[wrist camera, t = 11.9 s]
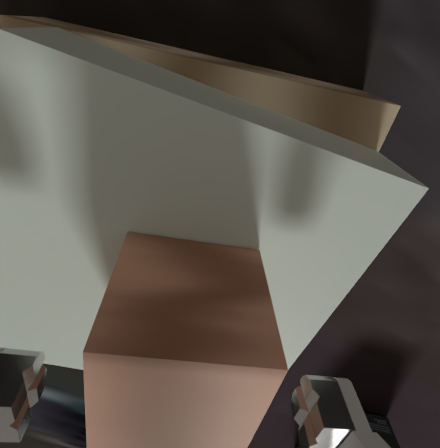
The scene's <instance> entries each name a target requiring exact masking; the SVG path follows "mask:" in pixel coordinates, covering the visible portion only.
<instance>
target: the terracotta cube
mask: <svg viewBox="0 0 440 448" xmlns="http://www.w3.org/2000/svg"><path fill="white" fill-rule="evenodd" d="M83 370H84V393H85V416H86V439H87V448H247V447H248V445H249V443H250V442H251V440H252V438H253V436H254V434H255V432H256V430H257V428H258V426H259V425H260V423H261V421H262V419H263V417H264V415H265V413H266V411H267V409H268V407H269V406H270V404H271V402H272V400H273V398H274V396H275V394H276V392H277V390H278V389H279V387H280V385H281V383H282V381H283V379H284V377H285V375H286V373H287V371H288V367H287V363H286V359H285V355H284V350H283V346H282V342H281V338H280V334H279V329H278V325H277V321H276V317H275V313H274V308H273V304H272V300H271V296H270V292H269V287H268V283H267V279H266V275H265V271H264V266H263V262H262V258H261V254H260V250H255V249H248V248H240V247H233V246H226V245H219V244H212V243H205V242H198V241H191V240H184V239H177V238H170V237H163V236H156V235H149V234H142V233H135V232H127V235H126V237H125V240H124V243H123V245H122V248H121V251H120V253H119V256H118V259H117V262H116V264H115V267H114V270H113V272H112V275H111V278H110V280H109V283H108V286H107V288H106V291H105V294H104V296H103V299H102V302H101V304H100V307H99V310H98V312H97V315H96V318H95V321H94V323H93V326H92V329H91V331H90V334H89V337H88V339H87V342H86V345H85V347H84V350H83Z"/></svg>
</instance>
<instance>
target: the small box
mask: <svg viewBox="0 0 440 448" xmlns="http://www.w3.org/2000/svg"><path fill="white" fill-rule="evenodd" d="M364 413H365V416H366V418H367V420H368V423H369V425H370V428H371V430H372V432H377V433H378V434H379V436H380V437H381V438H382V439H383V440H384V441H385V442H386V443H387V444H388V445H389V446H390V447H391V448H400V446H399V444H398V442H397V439H396V437H395V434H394V432H393V430H392V427H391V425H390V422H389V419H388V418H387V417H383V416H379V415H375V414H370V413H366V412H364ZM296 448H300V445H299V446H297V447H296Z"/></svg>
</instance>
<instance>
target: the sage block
mask: <svg viewBox="0 0 440 448" xmlns="http://www.w3.org/2000/svg"><path fill="white" fill-rule="evenodd" d="M428 189H429V188H428V187H426V186H425V185H423V184H422V183H421V182H419V181H418V180H417V179H415V178H414V177H412V176H411V175H410V174H408V173H407V172H405V171H404V170H403V169H401V168H400V167H399V166H397V165H396V164H394V163H393V162H392V161H390V160H389V159H387V158H386V157H385V156H383V155H382V154H381V153H379V152H378V151H376V150H374V149H371V148H368V147H366V146H363V145H361V144H358V143H356V142H353V141H350V140H348V139H345V138H343V137H340V136H337V135H335V134H332V133H330V132H327V131H325V130H322V129H319V128H317V127H314V126H312V125H309V124H306V123H304V122H301V121H299V120H296V119H293V118H291V117H288V116H286V115H283V114H281V113H278V112H275V111H273V110H270V109H268V108H265V107H262V106H260V105H257V104H255V103H252V102H250V101H247V100H244V99H242V98H239V97H237V96H234V95H231V94H229V93H226V92H224V91H221V90H218V89H216V88H213V87H211V86H208V85H206V84H203V83H200V82H198V81H195V80H193V79H190V78H187V77H185V76H182V75H180V74H177V73H174V72H172V71H169V70H167V69H164V68H162V67H159V66H156V65H154V64H151V63H149V62H146V61H143V60H141V59H138V58H136V57H133V56H131V55H128V54H125V53H123V52H120V51H118V50H115V49H112V48H110V47H107V46H105V45H102V44H99V43H97V42H94V41H92V40H89V39H87V38H84V37H81V36H79V35H76V34H74V33H71V32H68V31H66V30H63V29H61V28H58V27H39V28H0V347H3V348H10V349H21V350H31V351H42V352H44V356H45V360H44V362H43V363H45V364H51V365H57V366H64V367H70V368H76V369H82V370H83V350H84V347H85V345H86V342H87V339H88V337H89V334H90V331H91V329H92V326H93V323H94V321H95V318H96V315H97V312H98V310H99V307H100V304H101V302H102V299H103V296H104V294H105V291H106V288H107V286H108V283H109V280H110V278H111V275H112V272H113V270H114V267H115V264H116V262H117V259H118V256H119V253H120V251H121V248H122V245H123V243H124V240H125V237H126V235H127V232H135V233H142V234H149V235H156V236H163V237H170V238H177V239H184V240H191V241H198V242H205V243H212V244H219V245H226V246H233V247H240V248H248V249H255V250H260V254H261V258H262V262H263V266H264V271H265V275H266V279H267V283H268V287H269V292H270V296H271V300H272V304H273V308H274V313H275V317H276V321H277V325H278V329H279V334H280V338H281V342H282V346H283V350H284V355H285V359H286V363H287V367H288V369H289V368H290V367H291V365H292V364H293V363H294V362H295V360H296V359H297V358H298V356H299V355H300V354H301V353H302V351H303V350H304V349H305V347H306V346H307V345H308V344H309V342H310V341H311V340H312V338H313V337H314V336H315V335H316V333H317V332H318V331H319V329H320V328H321V327H322V326H323V324H324V323H325V322H326V320H327V319H328V318H329V317H330V315H331V314H332V313H333V311H334V310H335V309H336V308H337V306H338V305H339V304H340V302H341V301H342V300H343V299H344V297H345V296H346V295H347V293H348V292H349V291H350V290H351V288H352V287H353V286H354V284H355V283H356V282H357V280H358V279H359V278H360V277H361V275H362V274H363V273H364V271H365V270H366V269H367V268H368V266H369V265H370V264H371V262H372V261H373V260H374V259H375V257H376V256H377V255H378V253H379V252H380V251H381V250H382V248H383V247H384V246H385V244H386V243H387V242H388V241H389V239H390V238H391V237H392V235H393V234H394V233H395V232H396V230H397V229H398V228H399V226H400V225H401V224H402V223H403V221H404V220H405V219H406V217H407V216H408V215H409V214H410V212H411V211H412V210H413V208H414V207H415V206H416V205H417V203H418V202H419V201H420V199H421V198H422V197H423V196H424V194H425V193H426V192H427V190H428Z"/></svg>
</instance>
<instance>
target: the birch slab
mask: <svg viewBox="0 0 440 448" xmlns="http://www.w3.org/2000/svg"><path fill="white" fill-rule="evenodd" d="M39 27H58V28H61V29H63V30H66V31H68V32H71V33H74V34H76V35H79V36H81V37H84V38H87V39H89V40H92V41H94V42H97V43H99V44H102V45H105V46H107V47H110V48H112V49H115V50H118V51H120V52H123V53H125V54H128V55H131V56H133V57H136V58H138V59H141V60H143V61H146V62H149V63H151V64H154V65H156V66H159V67H162V68H164V69H167V70H169V71H172V72H174V73H177V74H180V75H182V76H185V77H187V78H190V79H193V80H195V81H198V82H200V83H203V84H206V85H208V86H211V87H213V88H216V89H218V90H221V91H224V92H226V93H229V94H231V95H234V96H237V97H239V98H242V99H244V100H247V101H250V102H252V103H255V104H257V105H260V106H262V107H265V108H268V109H270V110H273V111H275V112H278V113H281V114H283V115H286V116H288V117H291V118H293V119H296V120H299V121H301V122H304V123H306V124H309V125H312V126H314V127H317V128H319V129H322V130H325V131H327V132H330V133H332V134H335V135H337V136H340V137H343V138H345V139H348V140H350V141H353V142H356V143H358V144H361V145H363V146H366V147H368V148H371V149H374V150H376V151H378V152H379V150H380V148H381V146H382V144H383V142H384V140H385V138H386V136H387V134H388V132H389V129H390V127H391V125H392V123H393V121H394V119H395V117H396V115H397V113H398V111H399V109H400V107H401V106H400V105H397V104H395V103H392V102H390V101H387V100H385V99H382V98H380V97H378V96H375V95H373V94H370V93H368V92H365V91H362V90H358V89H354V88H349V87H345V86H341V85H336V84H332V83H328V82H323V81H319V80H315V79H310V78H306V77H302V76H297V75H293V74H289V73H284V72H280V71H276V70H271V69H267V68H263V67H258V66H254V65H250V64H245V63H241V62H237V61H232V60H228V59H224V58H219V57H215V56H210V55H206V54H202V53H197V52H193V51H189V50H184V49H180V48H176V47H171V46H167V45H163V44H158V43H154V42H150V41H145V40H141V39H137V38H132V37H128V36H124V35H119V34H115V33H111V32H106V31H102V30H98V29H93V28H89V27H85V26H80V25H76V24H72V23H67V22H63V21H59V20H54V19H50V18H46V17H31V16H13V15H0V28H39Z"/></svg>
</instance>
